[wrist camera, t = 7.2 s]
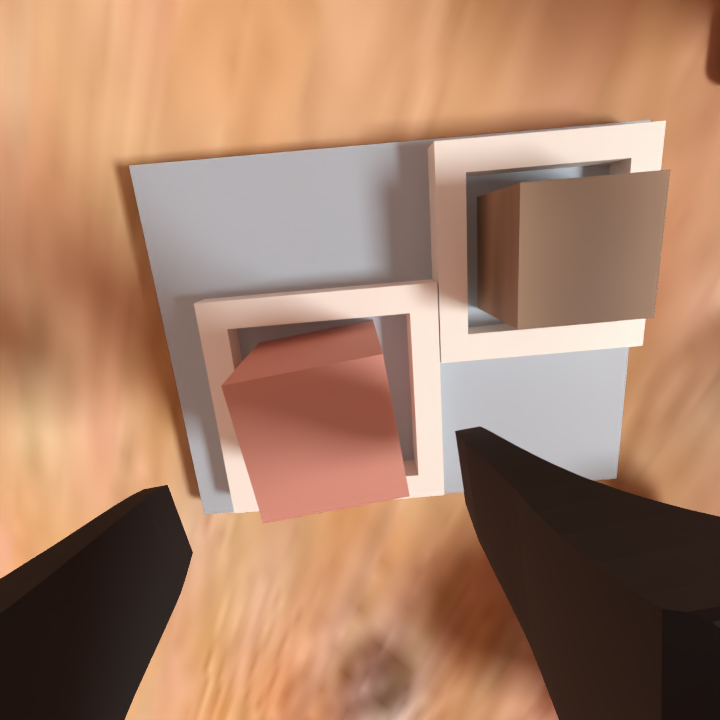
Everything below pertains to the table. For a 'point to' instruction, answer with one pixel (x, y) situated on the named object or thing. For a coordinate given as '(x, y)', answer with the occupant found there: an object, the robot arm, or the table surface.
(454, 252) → the board
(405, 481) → the brick-red block
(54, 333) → the table surface
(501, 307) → the walnut cube
